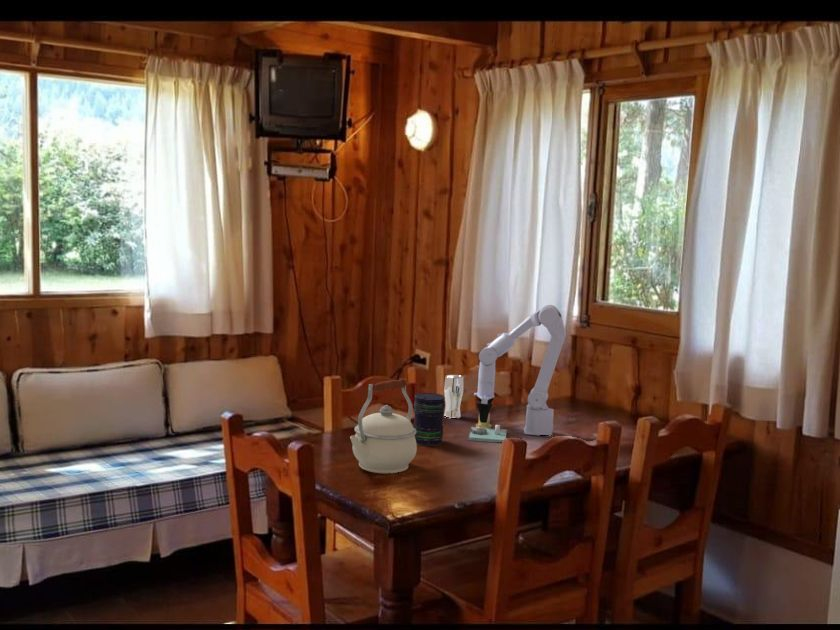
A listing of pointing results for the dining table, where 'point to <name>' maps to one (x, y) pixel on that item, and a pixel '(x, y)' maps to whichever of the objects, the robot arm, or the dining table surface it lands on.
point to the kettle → (385, 435)
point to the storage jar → (429, 418)
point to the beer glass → (453, 395)
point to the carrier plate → (487, 434)
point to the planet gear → (484, 425)
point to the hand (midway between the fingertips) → (483, 419)
